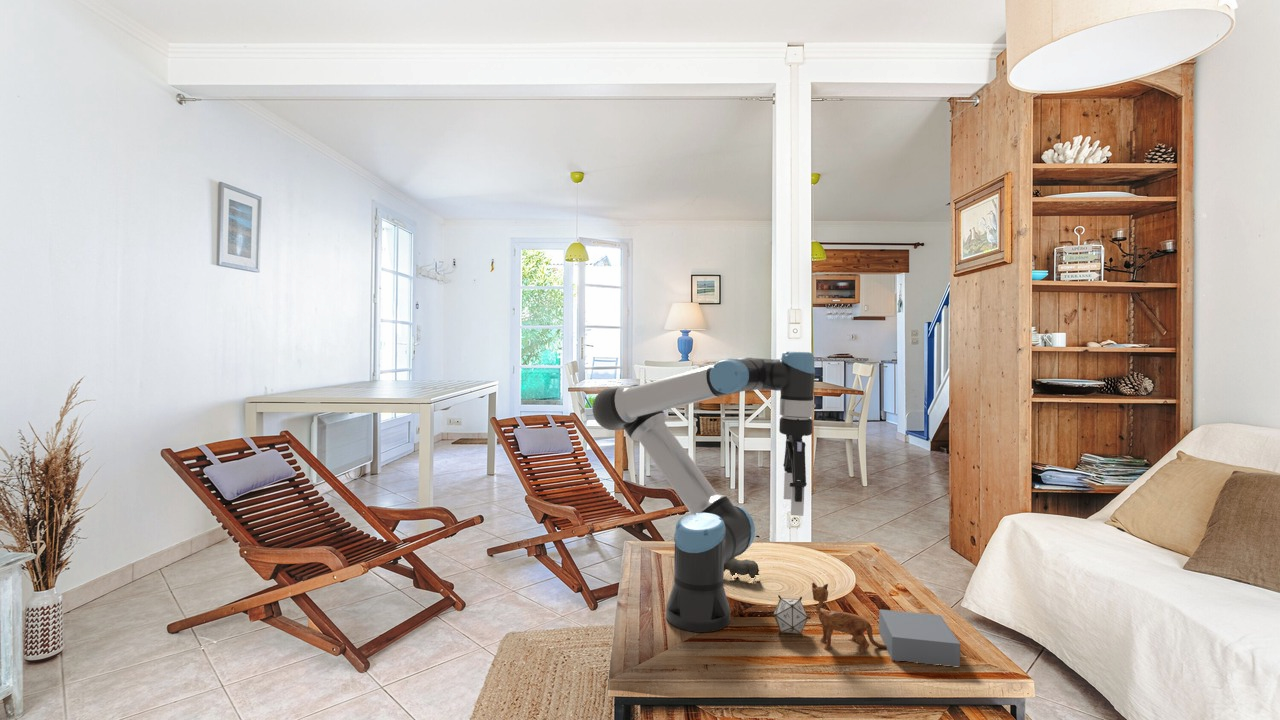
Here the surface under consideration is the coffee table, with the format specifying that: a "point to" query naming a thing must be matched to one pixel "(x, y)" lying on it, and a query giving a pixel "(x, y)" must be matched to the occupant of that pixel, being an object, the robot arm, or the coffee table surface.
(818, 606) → the cat figurine
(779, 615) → the game die
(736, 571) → the dark grey animal figure
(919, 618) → the stand
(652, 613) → the coffee table surface
